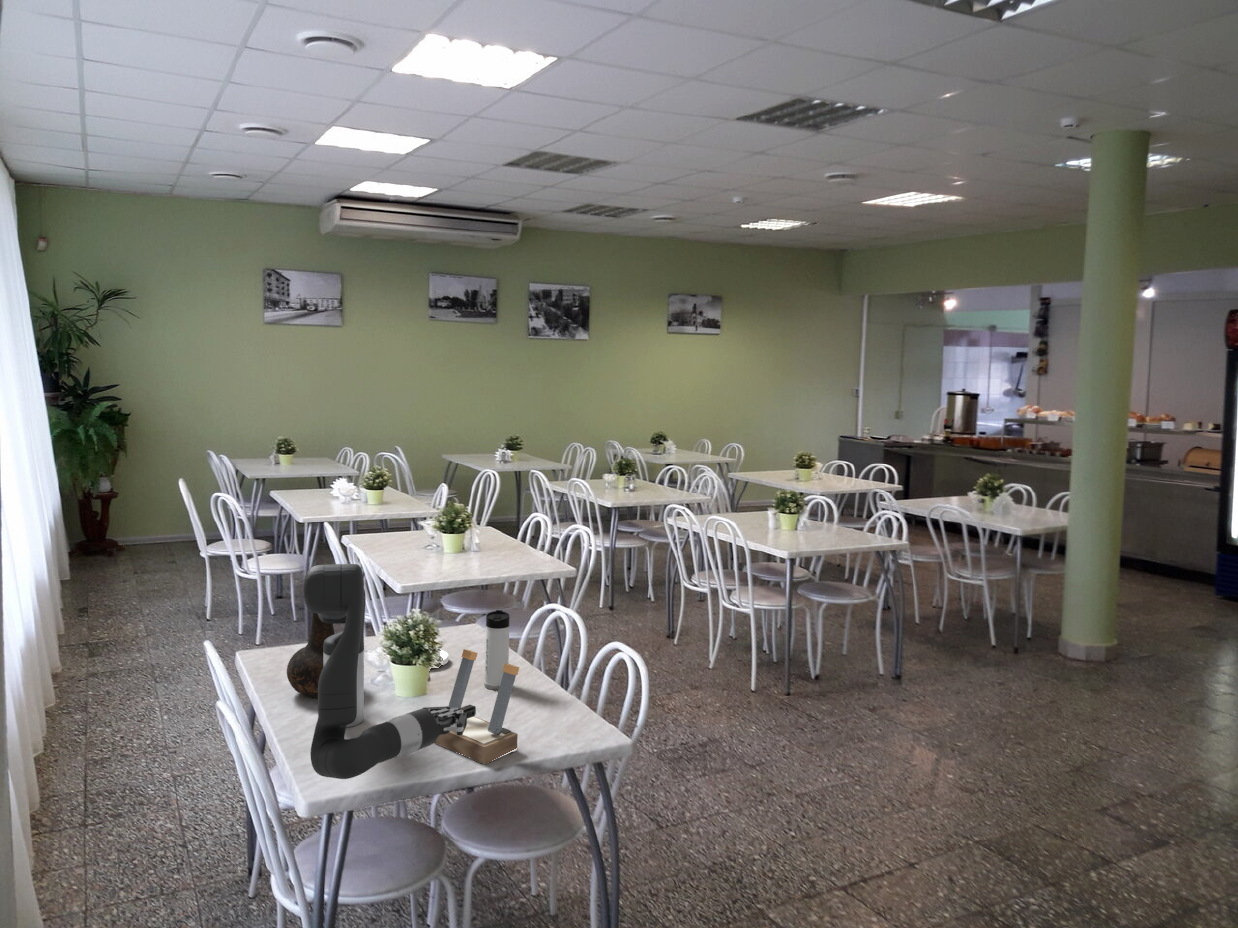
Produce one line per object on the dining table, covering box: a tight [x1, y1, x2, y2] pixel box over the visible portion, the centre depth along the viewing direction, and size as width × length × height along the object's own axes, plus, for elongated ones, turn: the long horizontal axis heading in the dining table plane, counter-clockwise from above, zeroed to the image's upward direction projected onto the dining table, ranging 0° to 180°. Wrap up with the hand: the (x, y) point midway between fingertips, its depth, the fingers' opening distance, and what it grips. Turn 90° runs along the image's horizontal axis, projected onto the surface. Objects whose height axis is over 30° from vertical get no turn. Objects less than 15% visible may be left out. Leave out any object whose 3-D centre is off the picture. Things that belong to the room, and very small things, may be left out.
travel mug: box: [483, 609, 510, 691], centre depth 244 cm, size 6×7×20 cm
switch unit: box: [433, 715, 519, 765], centre depth 207 cm, size 19×10×5 cm, turn 51°
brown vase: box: [286, 612, 336, 700], centre depth 234 cm, size 18×18×28 cm
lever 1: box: [448, 649, 478, 709], centre depth 212 cm, size 3×2×15 cm
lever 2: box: [488, 663, 520, 735], centre depth 204 cm, size 3×2×15 cm
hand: (473, 709), depth 197 cm, fingers closed
